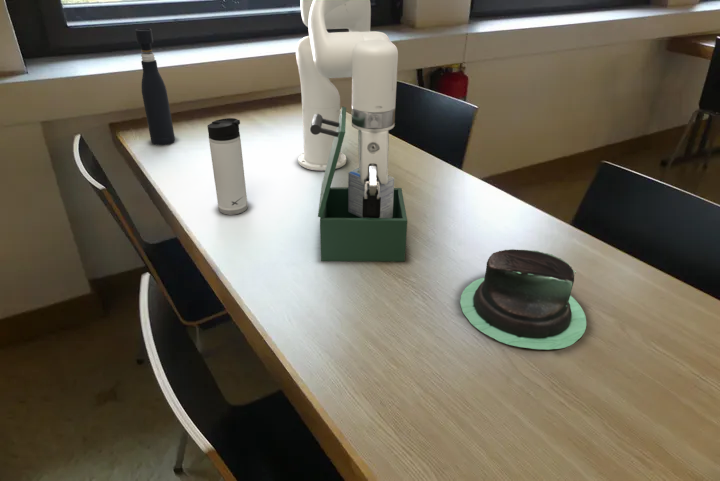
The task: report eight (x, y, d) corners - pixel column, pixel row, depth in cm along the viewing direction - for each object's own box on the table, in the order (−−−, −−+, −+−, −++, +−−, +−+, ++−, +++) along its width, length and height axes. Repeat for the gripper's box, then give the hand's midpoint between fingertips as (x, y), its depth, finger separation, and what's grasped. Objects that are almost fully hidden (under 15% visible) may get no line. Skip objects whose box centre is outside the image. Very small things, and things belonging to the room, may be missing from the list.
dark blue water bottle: (180, 140, 152) (161, 29, 137) (161, 147, 148) (140, 32, 132) (164, 136, 155) (145, 26, 140) (146, 142, 151) (124, 29, 135)
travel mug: (242, 216, 114) (232, 126, 103) (213, 213, 115) (200, 123, 104) (253, 203, 119) (244, 116, 109) (225, 200, 120) (214, 114, 110)
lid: (346, 107, 98) (316, 99, 97) (345, 132, 86) (311, 123, 86) (325, 185, 106) (298, 178, 105) (322, 218, 94) (291, 210, 94)
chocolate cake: (570, 271, 96) (613, 351, 79) (473, 308, 100) (494, 390, 84) (544, 206, 89) (585, 278, 72) (441, 250, 93) (457, 326, 77)
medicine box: (393, 218, 102) (395, 177, 97) (377, 226, 99) (379, 184, 94) (363, 205, 106) (363, 164, 102) (347, 212, 103) (347, 171, 99)
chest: (399, 226, 111) (401, 187, 107) (404, 261, 99) (407, 220, 95) (324, 225, 111) (323, 187, 106) (321, 261, 99) (319, 219, 95)
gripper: (398, 134, 85) (392, 228, 94) (391, 101, 100) (387, 185, 109) (351, 134, 85) (350, 228, 94) (351, 101, 100) (351, 185, 109)
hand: (370, 205), depth 101 cm, fingers closed on medicine box, 8 cm apart
